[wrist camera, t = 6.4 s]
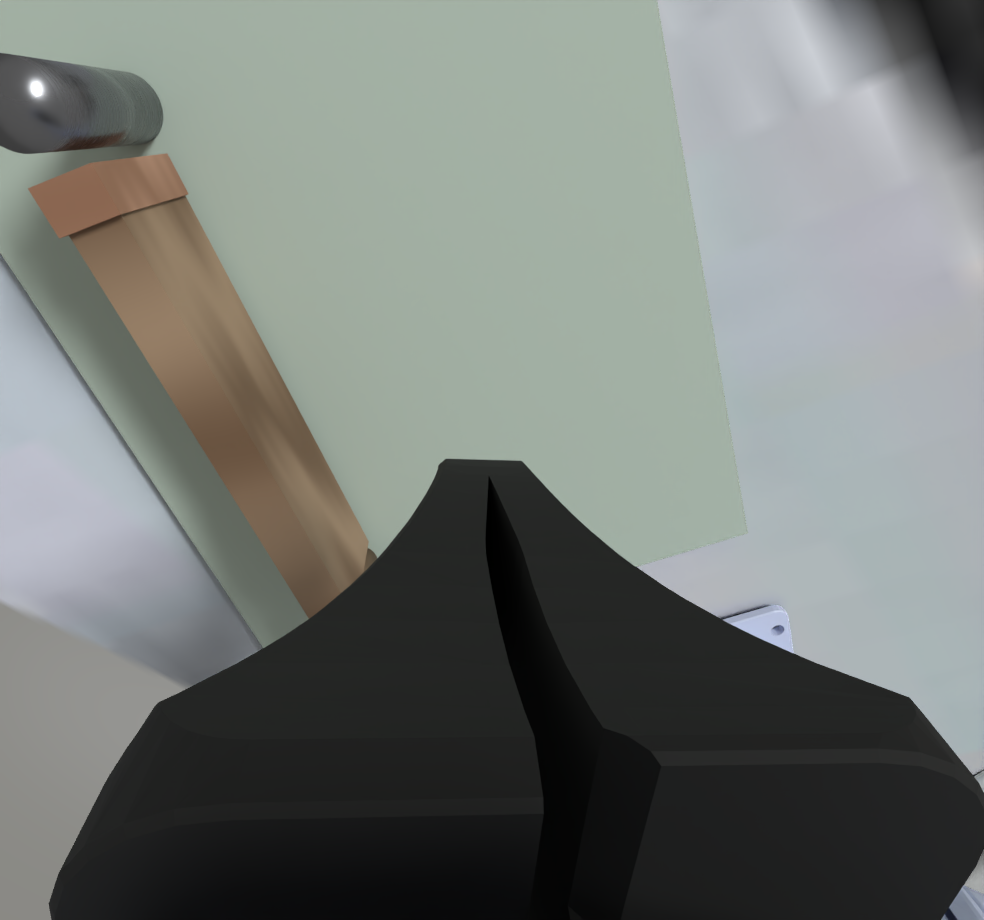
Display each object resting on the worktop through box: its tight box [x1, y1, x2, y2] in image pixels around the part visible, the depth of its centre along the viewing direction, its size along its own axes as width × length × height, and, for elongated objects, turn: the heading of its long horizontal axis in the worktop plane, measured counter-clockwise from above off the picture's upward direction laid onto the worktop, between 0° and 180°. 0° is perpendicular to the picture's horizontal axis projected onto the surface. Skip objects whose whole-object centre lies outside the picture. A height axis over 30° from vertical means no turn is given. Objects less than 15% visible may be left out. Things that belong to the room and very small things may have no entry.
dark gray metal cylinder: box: [0, 53, 163, 154], centre depth 18 cm, size 18×2×6 cm, turn 18°
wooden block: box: [28, 153, 377, 618], centre depth 18 cm, size 14×1×4 cm, turn 19°
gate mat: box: [0, 0, 748, 648], centre depth 20 cm, size 21×18×1 cm
